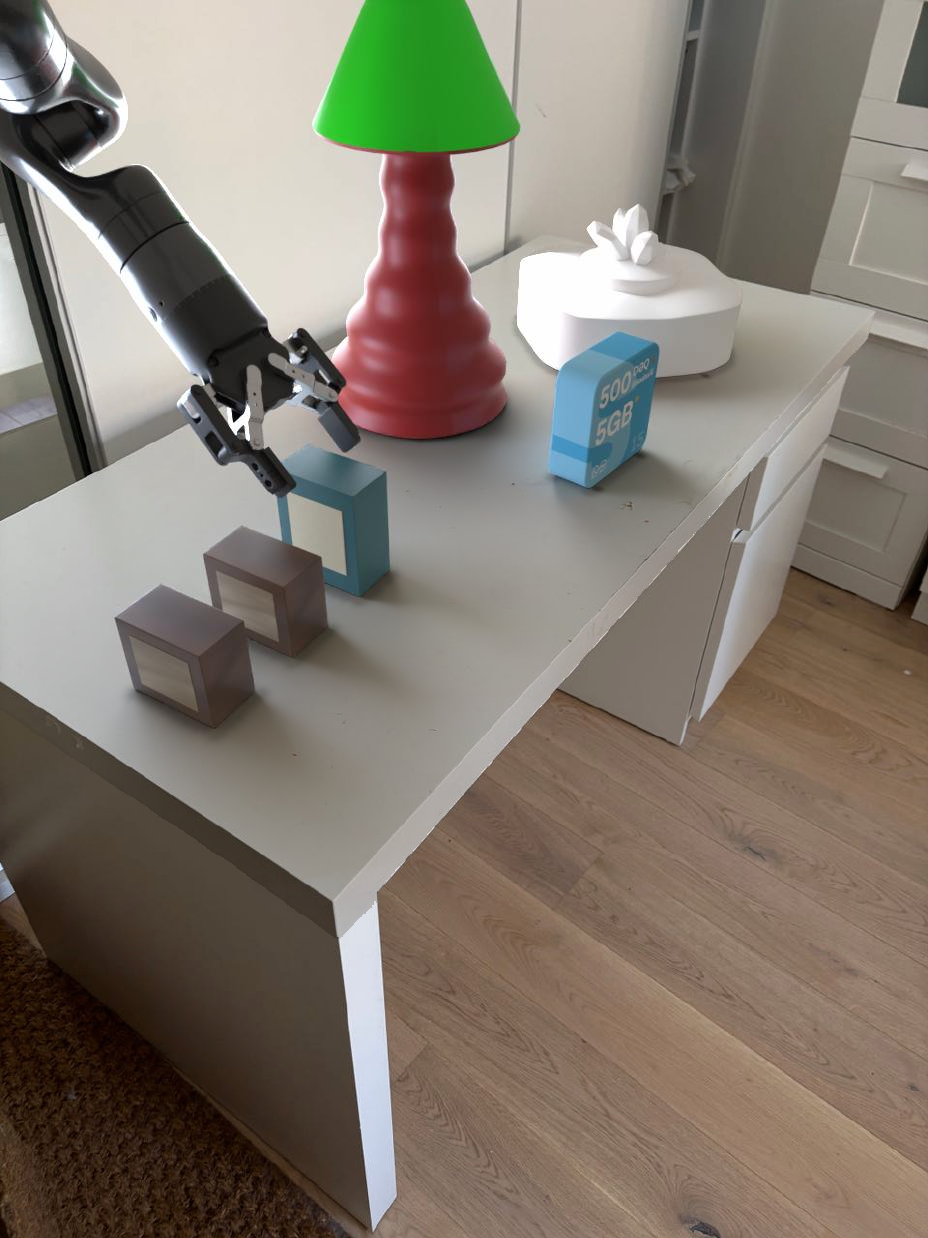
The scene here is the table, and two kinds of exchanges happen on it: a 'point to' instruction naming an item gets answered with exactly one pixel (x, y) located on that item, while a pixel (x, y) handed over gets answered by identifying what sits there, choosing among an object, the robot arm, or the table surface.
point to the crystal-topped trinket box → (628, 298)
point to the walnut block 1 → (186, 654)
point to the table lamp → (418, 217)
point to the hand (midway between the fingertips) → (322, 468)
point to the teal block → (338, 516)
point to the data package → (602, 408)
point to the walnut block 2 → (268, 588)
